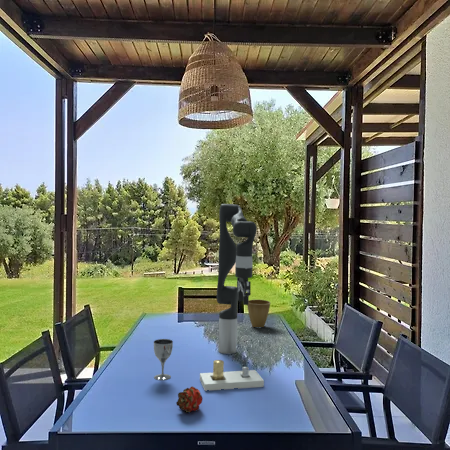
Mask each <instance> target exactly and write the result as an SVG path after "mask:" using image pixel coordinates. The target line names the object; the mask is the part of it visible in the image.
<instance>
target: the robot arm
mask: <svg viewBox="0 0 450 450" xmlns="http://www.w3.org/2000/svg"><path fill="white" fill-rule="evenodd" d="M218 214H219V219H218V220H219V241H218V242H219V245H218V275H217V285H216V286H217V288H216V301H217V304H219V305H230V307H229V308H226V309H223V310H221V311H219V314H218V353H220V354H225V355H231V354H235V353H236V352H237V345H238V344H237V343H238V340H237V339H238V306H239V304H238V303H239V302H242V304H243V306H247V305H248V301H249V300H250V299H249V297H250V296H251V292H252V291H251V290H252V289H251V287H252V286H251V284H252V283H251V281H249V278H253V245H254V242H255V237H256V235H257V230H258V229H257V228H258V227H257V224H256V223H255V222H254V221H248V220H247V218H246V217H245V216H244V213H243V210H242V207H241V206H240V205H239V204H233V203H221V204H220V207H219V213H218ZM227 223H231V226H232V233H233V235H234V236H235V237H237V238H247V239H246V240H245V241H243V242H238V243H235V241H234V240H233V238H232V237H231V234H230V233H229V230H228V226H227ZM234 266H235V271H234V273H235V274H234V275H235V278H236V286H233V285H232V286H231V285H225V283H226V279H227V277H228V275H229V274H230V272H231V271H232V269H233V267H234Z"/></svg>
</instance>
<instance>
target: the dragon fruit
mask: <svg viewBox="0 0 450 450" xmlns="http://www.w3.org/2000/svg"><path fill="white" fill-rule="evenodd" d="M175 403H176V406H178V408H179V409H180V410H183V411H184V410H185V411H186V412H185V411H184V412H185V413H187V412H190V413H191V412H192V411H194V412H196V410H197V411H199V410H200V405H201V404H202V403H203V396H202V394H201V392H200V390H199V389H198V388H196V387H194V386H190V387H187V388H185V389H183V391H181V392H178V393H177V401H176V402H175Z"/></svg>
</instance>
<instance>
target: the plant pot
mask: <svg viewBox="0 0 450 450" xmlns="http://www.w3.org/2000/svg"><path fill="white" fill-rule="evenodd" d="M270 306H271V301H269V300H264V299H249V301H248V305H246V307H247V311H248V316H249V320H250V323H251V327H253V328H254V327H263V328H264V327H265V326H266V325H265V324H266V323H267V320H268V316H269V313H270Z"/></svg>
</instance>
